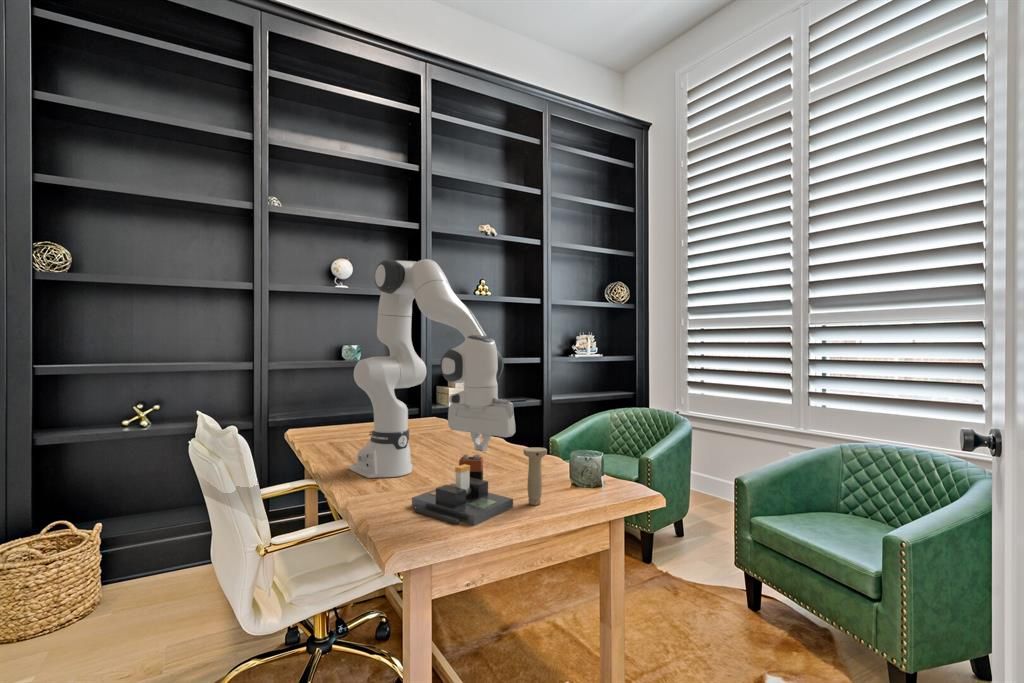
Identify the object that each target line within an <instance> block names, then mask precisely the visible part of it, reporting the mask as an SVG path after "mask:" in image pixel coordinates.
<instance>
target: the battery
mask: <svg viewBox="0 0 1024 683" xmlns="http://www.w3.org/2000/svg"><path fill="white" fill-rule="evenodd" d="M464 464H466V465H470V477H471V478H475V479H480V480H484V458H483V457H482V456H481V455H480V454H473V455H472V456H469V455H466V454H464V455H462V456H461V457H460V459H459V461H458V466H460V465H464Z"/></svg>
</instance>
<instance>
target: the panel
mask: <svg viewBox="0 0 1024 683" xmlns="http://www.w3.org/2000/svg"><path fill="white" fill-rule="evenodd" d="M470 488H471V494H469V495H467V496H466V489H462V488H458V487H456V483H451V484H445V485H441V486H438V487H435V489H433V490H429V491H428V492H425V493H422V494H419V495H416V496H413V497H411V507H412V506H413V507H412V508H415V507H418V508H421V509H425V510H428V511H431V512H435V513H438V514H441V515H445V516H448V517H451V518H455V519H458V520H459V522H462V523H464V524H467V523H468V525H471V526H476V525H479V524H480V523H483V522H485V521H487V520H489V519H491V518H493V517H495V516H498V515H501V514H502V513H505V512H507V511H508V510H511V509H513V508H514V498H513V497H507V496H503V495H500V494H496V493H492V492H489V481H488V480H484V479H483V480H480V479H475V478H471V477H470ZM506 510H507V511H506ZM504 511H505V512H504Z"/></svg>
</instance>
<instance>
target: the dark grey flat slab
mask: <svg viewBox="0 0 1024 683" xmlns="http://www.w3.org/2000/svg"><path fill="white" fill-rule="evenodd" d="M413 511H414V512H415V513H418V514H422V515H424V516H427V517H431V518H434V519H436V520H441V521H443V522H447V523H450V524H453V525H458V524H460V521H459V520H458V519H455V518H451V517H448V516H445V515H441V514H438V513H435V512H431V511H428V510H425V509H421V508H418V507H416V508H415V507H414V509H413Z"/></svg>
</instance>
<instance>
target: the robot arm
mask: <svg viewBox="0 0 1024 683" xmlns="http://www.w3.org/2000/svg"><path fill="white" fill-rule="evenodd" d="M374 282H375V286H376V287H377V288H378V290H379V291H380V297H379V300H378V301H379V302H378V310H377V322H376V323H377V324H376V336H377V339H378V340H379V341H380V343H382V344H384V345H385V346H387V348H388V350H389V356H387V355H386V356H371V357H367V358H363V359H361V360H359V361H357V363H356V364H355V366H354V369H353V379H354V382H355V384H356V385H357V387H359V388H360V389H362V391H364V392H365V393H366V395H367V396H368V398H369V399H370V402H371V406H372V409H373V430H371V431H368V433H370V434H368V436H370V440H369V442H367V443H366V444H365V445H364V446H363V447H362V448H361V449H359V450H358V452H357V454H356V463H354V464H351V465H349V467H348V468H349V469H348V470H350V471H352V472H354V473H356V474H358V475H360V476H363V477H365V478H367V479H373V478H395V477H401V476H406V475H408V474H411V473H412V472H413V467H414V465H413V463H412V459H411V458H412V457H411V448H410V444H409V440H410V429H409V409H408V407H407V405H406V403H404V402H403V401H401V400H400V399H398V398H397V396H396V393H395V389H409V388H411V387H415V386H418V385H421V384H422V383H423V382H424V381H425V379H426V377H427V366H426V364H425V361H423V359H422V358H421V357H419V355H418V354H417V352H416V351H415V349H414V348H415V347H414V346H413V341H412V321H413V320H412V317H413V315H412V314H413V301H414V299H415V303H416V304H417V307H418V309H419V310H420V312H421V313H422V314H423V316H424V317H426V318H427V319H428V320H431V321H433V322H436V323H441V324H444V325H446V326H449V327H452V328H454V329H455V330H458V332H459V333H460V334H462V335H463V337H464V341H463V342H462V343H460V344H459V345H458V346H455V347H453V348H451V349H450V348H449V349H447V350H446V351H444V352H445V353H444V354H443V355H442V356H441V359H440V372H441V374H442V376H443V378H444V379H445V380H446V381H447V382H449V383H453V384H462V383H464V384H463V390H461V391H459V392H457V393H453V394H450V395H449V396H448V401H449V403H450V404H449V406H448V410H447V411H448V412H447V416H448V417H447V424H448V428H449V430H451V431H457V432H465V433H470V438H471V440H472V442H473V444H474V451H477V452H478V451H479V452H487V451H488V445H489V444H488V443H490V440H491V438H492V437H493V436H494V437H500V438H508V437H509V438H510V437H513V436H514V435H515V433H516V421H515V412H514V408H515V407H514V404H513V403H512V402H511V401H509V400H508V399H500V398H499V395H498V390H499V389H498V386H499V385H498V382H497V380H498V379H499V378H500V376H501V375H502V373H503V371H504V366H505V363H504V358H503V356H502V354H501V352H500V350H498V348H497V345H496V342H495V339H493V338H492V337H490V336H488V335H487V334H486V333H485V331H484V328H483V327H482V326H481V324H480V322H479V320H478V319H477V318H476V316H475V315H474V313H473V312H472V310H471V308H469V307H468V306H467V305H466V304H465V303H463V302H462V301H461V299H459V297H458V296H457V294H456V293H455V292H454V290H453V289H452V287H451V284H450V283H449V280H448V278H447V276H446V274H445V272H444V271H443V270H442V268H441V267H440V266H439V264H438V263H437V262H436V261H434V260H433V259H429V258H424V259H420V260H418V261H415V260H414V261H413V260H395V259H384V260H382V261H380V262H379V263H378V265H377V266H376V268H375V271H374ZM480 436H481V438H482V441H481V440H480V438H479V437H480Z"/></svg>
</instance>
